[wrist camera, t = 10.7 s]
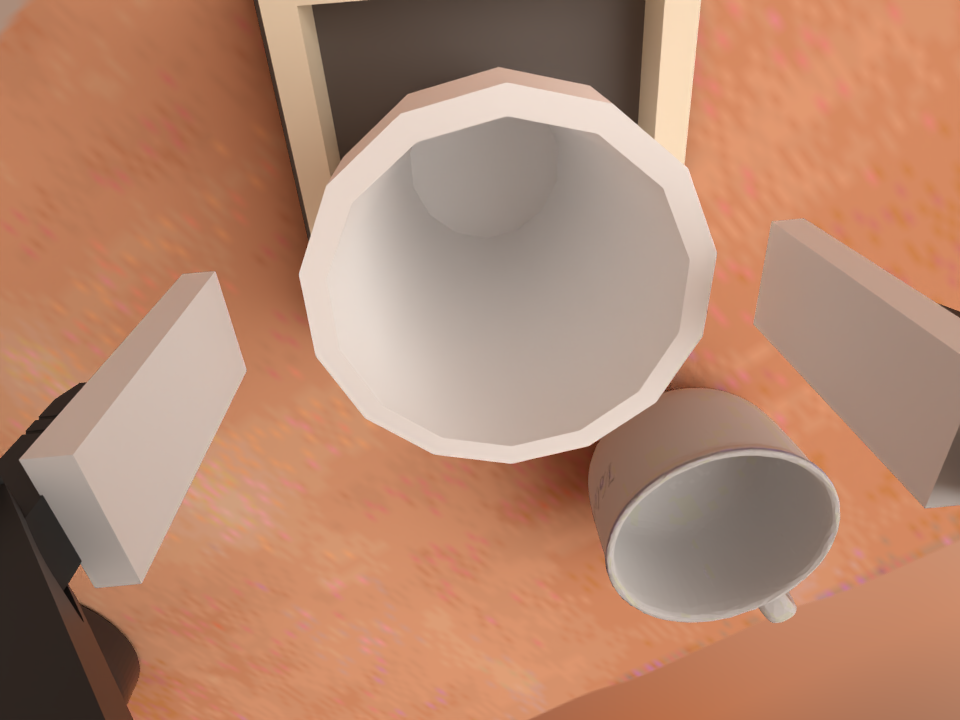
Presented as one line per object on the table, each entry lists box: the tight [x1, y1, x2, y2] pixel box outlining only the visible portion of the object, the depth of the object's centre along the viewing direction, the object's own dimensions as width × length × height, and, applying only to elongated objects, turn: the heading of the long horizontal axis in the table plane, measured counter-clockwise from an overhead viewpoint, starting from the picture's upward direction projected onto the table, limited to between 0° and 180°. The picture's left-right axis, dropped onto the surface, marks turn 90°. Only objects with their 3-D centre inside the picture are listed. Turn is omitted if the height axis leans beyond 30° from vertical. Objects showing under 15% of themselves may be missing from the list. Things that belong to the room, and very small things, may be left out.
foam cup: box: [299, 67, 717, 464], centre depth 20 cm, size 10×9×13 cm
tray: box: [254, 0, 701, 241], centre depth 25 cm, size 16×16×4 cm
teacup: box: [588, 388, 840, 623], centre depth 32 cm, size 14×11×8 cm
